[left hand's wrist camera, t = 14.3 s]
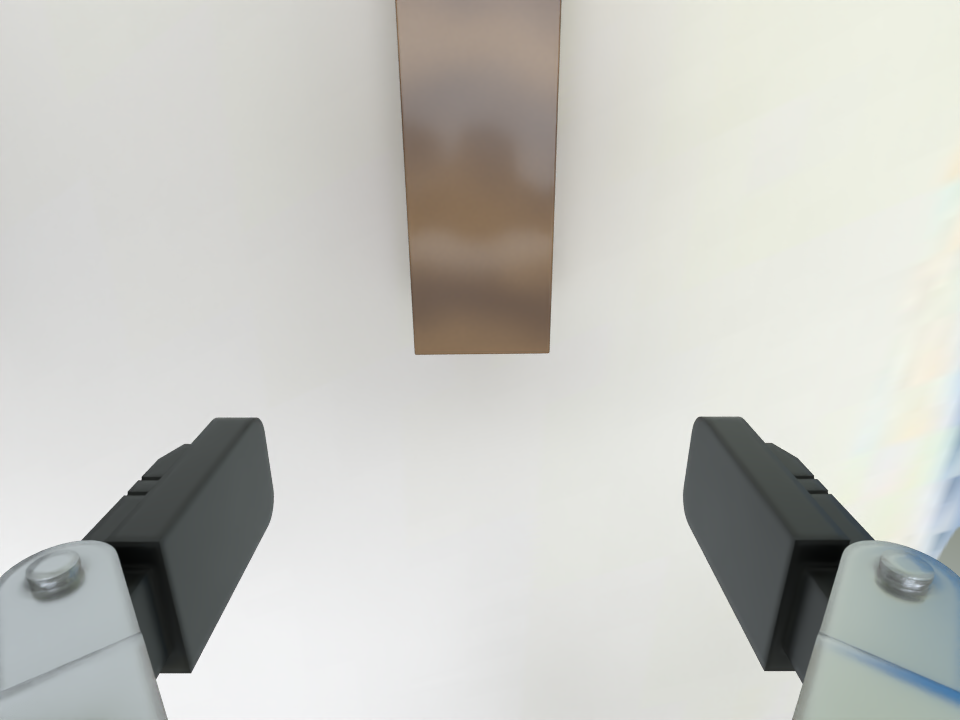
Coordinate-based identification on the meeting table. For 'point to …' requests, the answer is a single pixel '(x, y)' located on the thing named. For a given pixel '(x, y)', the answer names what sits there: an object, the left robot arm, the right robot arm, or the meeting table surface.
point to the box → (480, 170)
